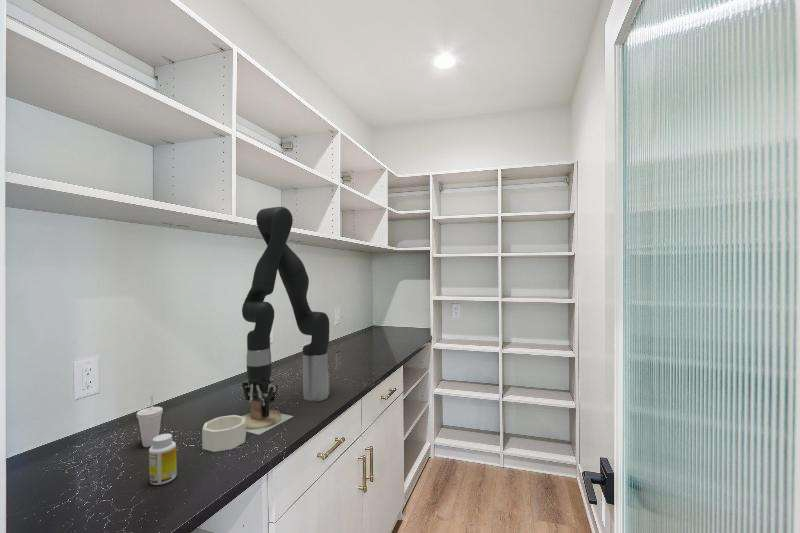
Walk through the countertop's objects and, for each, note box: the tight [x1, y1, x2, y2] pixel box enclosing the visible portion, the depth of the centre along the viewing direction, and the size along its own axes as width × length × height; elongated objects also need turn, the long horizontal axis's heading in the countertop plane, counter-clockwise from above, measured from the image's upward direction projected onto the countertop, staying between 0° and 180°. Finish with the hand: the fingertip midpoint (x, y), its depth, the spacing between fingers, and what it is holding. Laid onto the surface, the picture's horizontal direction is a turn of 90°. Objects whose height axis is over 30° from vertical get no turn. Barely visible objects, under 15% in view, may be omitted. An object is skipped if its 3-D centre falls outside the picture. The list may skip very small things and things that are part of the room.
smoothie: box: [136, 394, 164, 448], centre depth 109 cm, size 6×6×14 cm
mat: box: [246, 413, 294, 436], centre depth 123 cm, size 15×15×1 cm
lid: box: [241, 396, 282, 429], centre depth 123 cm, size 13×13×7 cm
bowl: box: [201, 414, 247, 453], centre depth 109 cm, size 11×11×6 cm
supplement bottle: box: [148, 433, 178, 486], centre depth 91 cm, size 6×6×10 cm
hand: (260, 414), depth 123 cm, fingers closed on lid, 4 cm apart
